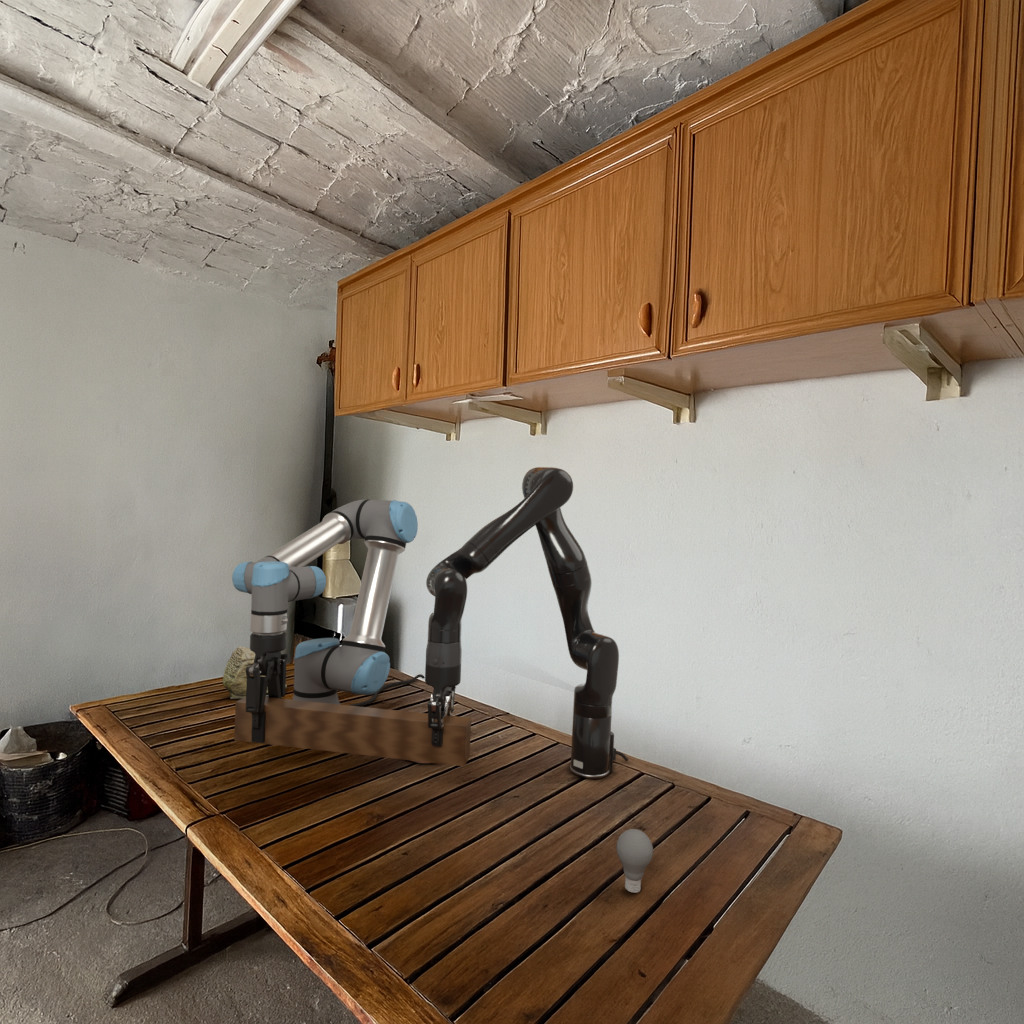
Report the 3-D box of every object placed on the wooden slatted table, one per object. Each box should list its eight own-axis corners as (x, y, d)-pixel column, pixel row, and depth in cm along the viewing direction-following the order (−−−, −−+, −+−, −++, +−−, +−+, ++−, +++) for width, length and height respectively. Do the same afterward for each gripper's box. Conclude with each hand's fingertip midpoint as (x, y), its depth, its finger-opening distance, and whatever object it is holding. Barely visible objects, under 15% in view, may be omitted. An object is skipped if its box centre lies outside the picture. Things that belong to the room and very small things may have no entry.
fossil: (218, 695, 195) (220, 647, 195) (278, 685, 208) (279, 640, 207) (228, 703, 189) (230, 653, 188) (289, 692, 201) (290, 645, 201)
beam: (233, 740, 139) (235, 702, 138) (246, 732, 144) (248, 695, 143) (464, 766, 131) (466, 726, 131) (469, 757, 136) (471, 717, 136)
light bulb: (610, 879, 108) (613, 822, 108) (644, 879, 109) (647, 822, 109) (619, 902, 102) (622, 840, 102) (655, 901, 103) (658, 840, 103)
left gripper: (262, 642, 130) (258, 754, 131) (304, 625, 148) (300, 724, 149) (228, 639, 131) (225, 750, 132) (274, 623, 149) (271, 721, 150)
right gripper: (452, 671, 126) (449, 756, 126) (468, 654, 140) (465, 730, 141) (416, 668, 127) (413, 752, 128) (435, 651, 141) (432, 727, 142)
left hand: (265, 736), depth 140 cm, fingers closed on beam, 5 cm apart
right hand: (440, 740), depth 134 cm, fingers closed on beam, 5 cm apart
